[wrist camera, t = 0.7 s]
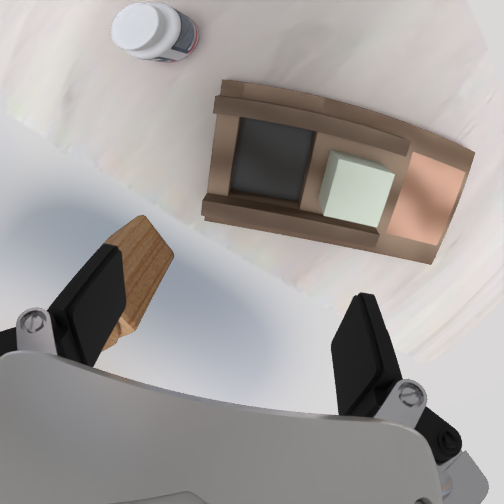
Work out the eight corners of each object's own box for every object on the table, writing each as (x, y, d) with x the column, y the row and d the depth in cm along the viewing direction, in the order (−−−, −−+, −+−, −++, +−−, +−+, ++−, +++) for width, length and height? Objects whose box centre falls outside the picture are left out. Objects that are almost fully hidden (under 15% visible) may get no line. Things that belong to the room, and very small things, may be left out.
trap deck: (227, 80, 25) (218, 78, 21) (463, 146, 26) (485, 157, 22) (209, 210, 32) (199, 229, 29) (423, 253, 33) (437, 274, 29)
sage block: (330, 148, 26) (338, 158, 22) (380, 162, 26) (394, 174, 22) (318, 198, 28) (323, 215, 25) (365, 209, 28) (376, 227, 25)
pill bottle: (185, 6, 21) (150, -19, 14) (208, 45, 23) (180, 29, 16) (140, 34, 23) (94, 23, 15) (162, 72, 25) (120, 70, 17)
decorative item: (141, 274, 38) (70, 400, 21) (109, 236, 35) (16, 351, 18) (177, 254, 36) (109, 395, 19) (144, 210, 33) (43, 335, 16)
